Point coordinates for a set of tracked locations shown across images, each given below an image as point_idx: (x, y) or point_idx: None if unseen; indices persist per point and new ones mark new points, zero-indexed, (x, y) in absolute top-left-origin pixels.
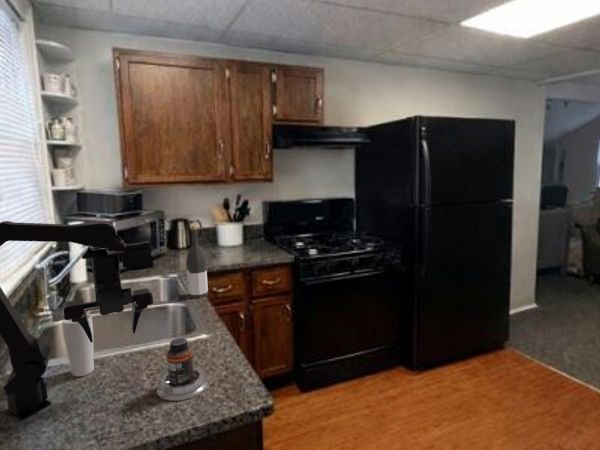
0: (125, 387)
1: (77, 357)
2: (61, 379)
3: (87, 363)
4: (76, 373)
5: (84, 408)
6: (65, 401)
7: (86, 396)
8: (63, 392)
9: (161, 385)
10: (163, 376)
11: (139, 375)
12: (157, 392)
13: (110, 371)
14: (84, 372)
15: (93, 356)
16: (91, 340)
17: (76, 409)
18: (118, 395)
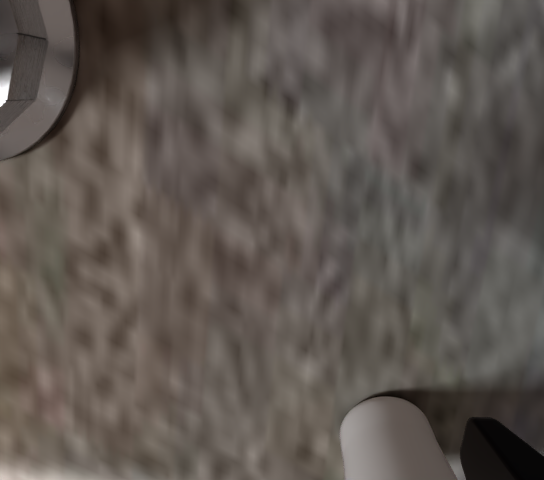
0: (230, 196)
1: (435, 478)
2: (466, 415)
3: (377, 439)
4: (417, 412)
5: (428, 103)
6: (489, 224)
7: (402, 215)
8: (481, 307)
9: (30, 29)
10: (5, 94)
11: (160, 273)
12: (70, 16)
13: (279, 376)
14: (385, 404)
15: (346, 477)
16: (498, 436)
17: (462, 117)
18: (267, 136)
